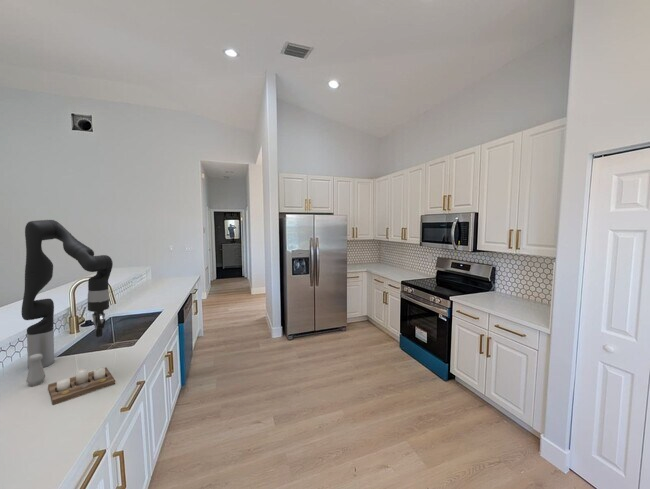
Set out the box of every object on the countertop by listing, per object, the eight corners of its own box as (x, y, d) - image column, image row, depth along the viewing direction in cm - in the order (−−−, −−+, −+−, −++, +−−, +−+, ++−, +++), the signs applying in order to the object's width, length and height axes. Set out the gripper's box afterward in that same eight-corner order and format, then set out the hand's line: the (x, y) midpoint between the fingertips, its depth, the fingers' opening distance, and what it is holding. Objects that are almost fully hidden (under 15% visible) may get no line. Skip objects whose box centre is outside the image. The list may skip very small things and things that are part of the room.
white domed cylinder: (56, 392, 115) (56, 380, 115) (69, 388, 118) (69, 376, 118) (57, 396, 113) (57, 384, 112) (70, 391, 116) (70, 380, 115)
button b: (75, 381, 120) (75, 370, 119) (87, 378, 123) (87, 367, 122) (77, 385, 117) (76, 374, 117) (89, 381, 120) (88, 370, 120)
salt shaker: (32, 388, 118) (32, 358, 117) (23, 386, 119) (22, 357, 118) (49, 380, 123) (48, 352, 123) (39, 379, 125) (38, 351, 124)
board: (48, 388, 117) (48, 383, 117) (106, 371, 133) (106, 366, 133) (52, 405, 107) (52, 399, 107) (115, 383, 122) (115, 378, 122)
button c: (93, 380, 124) (92, 370, 124) (104, 377, 127) (104, 366, 127) (95, 383, 122) (94, 373, 121) (106, 380, 125) (106, 369, 124)
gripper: (84, 297, 125) (85, 334, 126) (90, 303, 116) (91, 343, 117) (105, 295, 131) (105, 330, 132) (112, 300, 122) (112, 338, 123)
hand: (99, 336), depth 125 cm, fingers closed
